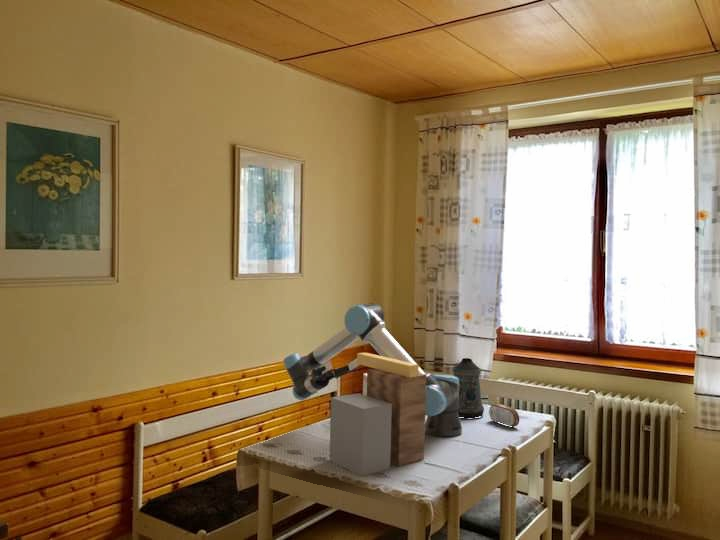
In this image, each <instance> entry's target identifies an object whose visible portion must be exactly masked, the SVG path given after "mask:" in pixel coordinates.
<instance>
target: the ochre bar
mask: <svg viewBox="0 0 720 540" xmlns="http://www.w3.org/2000/svg"><path fill="white" fill-rule="evenodd" d="M356 355H357V356H356V359H357V364H360V365H359V366H364V367H368V368H370V369H379V370H383V371H387V372H391V373H394V374H398V375H402V376H406V377H417V376H418V369H419V367H420V365H419V364H418V363H417V364H413V363H409V362H405V361H400V360H396V359H392V358H387V357H383V356H381V355H380V354H378V355H377V354H373V353H369V352H358V353H356Z"/></svg>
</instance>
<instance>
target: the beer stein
mask: <svg viewBox="0 0 720 540" xmlns="http://www.w3.org/2000/svg"><path fill="white" fill-rule="evenodd" d="M452 371H453V376H455V377H457V378H458V379H459V401H458V415H459V417H464V418H475V417H479V416H482V415H484V411H485V408H484V405H483V401H482V400H483V399H482V394H481V392H482V391H481V383H480V375H481V373H482V371H481V368H480V367H479V366H478V365H477V364H475V363H474V361H473V359H471V358H468V357H467V358H465V357H463V358H462V359H461V361H460V362H458V363H457V364H456V365H455V366H454V367H453V368H452ZM482 417H483V416H482Z"/></svg>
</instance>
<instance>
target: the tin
mask: <svg viewBox="0 0 720 540" xmlns="http://www.w3.org/2000/svg"><path fill="white" fill-rule="evenodd" d="M488 411H489V417H490V419H491V421H492V420H493V421H496V422H500V423H503V424H506V425H509V426H512V427H511V428H515V427H514V426H516V427H517V426H518V425H519V424H520V415H519V412H518V411H517V409H515V408H514V407H512V406H508V405H505V404H502V403H498V402H497V403H494V404H492V405H490V407H489V410H488ZM493 421H492V422H493Z"/></svg>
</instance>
